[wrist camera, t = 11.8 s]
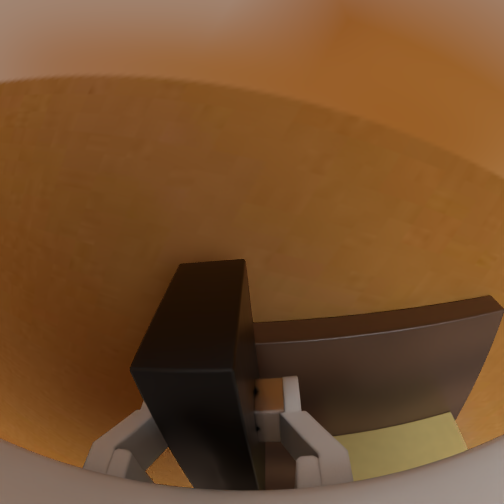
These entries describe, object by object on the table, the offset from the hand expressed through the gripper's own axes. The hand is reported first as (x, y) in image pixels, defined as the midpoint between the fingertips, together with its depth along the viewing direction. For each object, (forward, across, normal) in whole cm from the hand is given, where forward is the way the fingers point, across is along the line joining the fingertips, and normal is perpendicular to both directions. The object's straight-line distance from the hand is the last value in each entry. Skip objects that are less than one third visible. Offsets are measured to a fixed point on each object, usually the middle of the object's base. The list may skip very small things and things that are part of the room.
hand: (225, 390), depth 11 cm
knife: (+2, 0, +5) cm, 5 cm away
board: (+4, -6, +9) cm, 11 cm away
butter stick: (+2, -9, +10) cm, 13 cm away
